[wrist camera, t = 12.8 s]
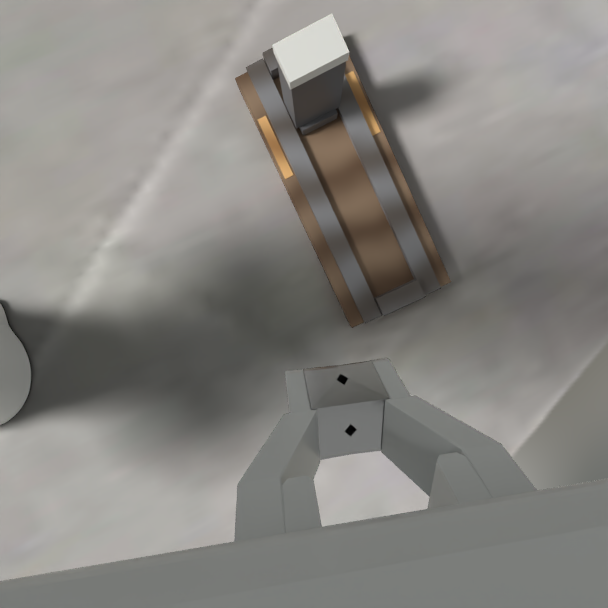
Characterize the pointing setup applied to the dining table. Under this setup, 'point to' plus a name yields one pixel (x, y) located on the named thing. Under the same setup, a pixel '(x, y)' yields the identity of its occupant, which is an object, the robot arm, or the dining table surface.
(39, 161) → the dining table surface
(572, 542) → the robot arm
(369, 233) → the fader console
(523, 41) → the dining table surface
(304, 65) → the fader knob
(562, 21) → the dining table surface
